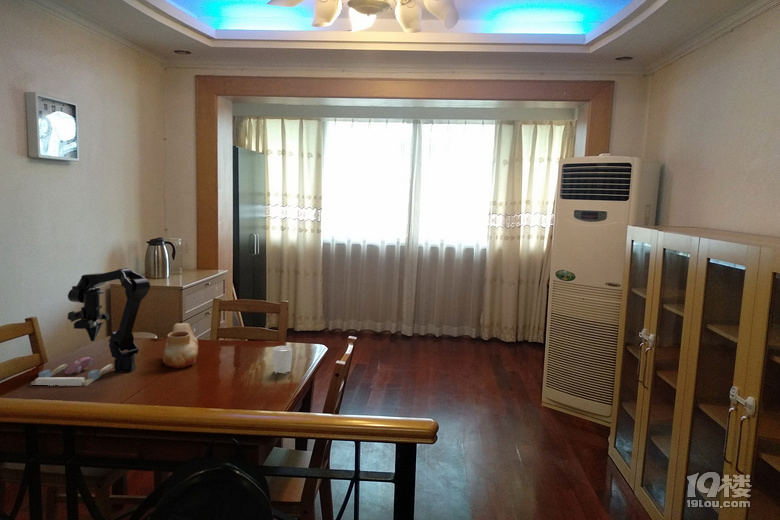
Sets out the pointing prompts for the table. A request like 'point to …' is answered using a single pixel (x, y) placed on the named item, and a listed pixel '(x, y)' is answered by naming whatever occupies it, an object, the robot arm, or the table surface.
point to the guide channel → (68, 381)
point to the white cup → (282, 358)
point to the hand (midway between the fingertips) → (92, 340)
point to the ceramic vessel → (180, 347)
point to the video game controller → (79, 365)
